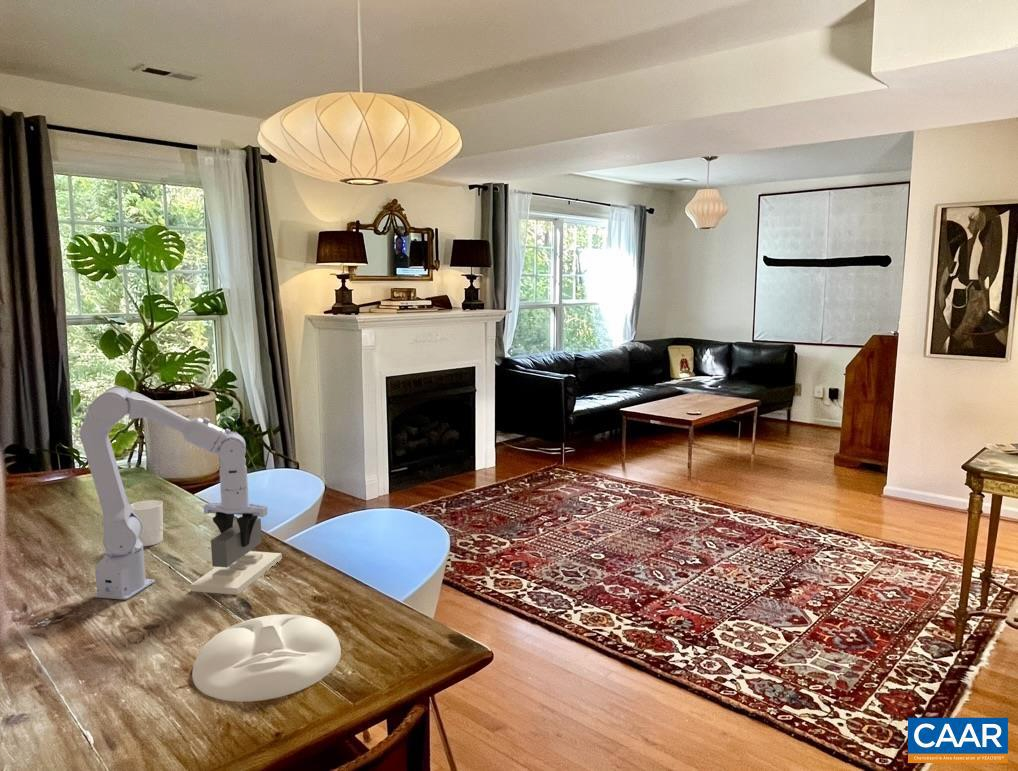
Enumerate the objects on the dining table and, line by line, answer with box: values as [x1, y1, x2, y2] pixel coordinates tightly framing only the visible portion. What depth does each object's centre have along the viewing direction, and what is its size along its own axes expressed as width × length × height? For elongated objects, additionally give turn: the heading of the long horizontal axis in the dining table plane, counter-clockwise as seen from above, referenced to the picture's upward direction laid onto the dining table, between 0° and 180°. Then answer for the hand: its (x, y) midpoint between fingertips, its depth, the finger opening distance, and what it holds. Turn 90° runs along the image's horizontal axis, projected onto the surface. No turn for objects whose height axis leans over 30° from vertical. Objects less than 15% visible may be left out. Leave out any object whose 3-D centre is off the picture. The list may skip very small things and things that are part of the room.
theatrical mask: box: [191, 613, 342, 703], centre depth 124 cm, size 25×8×25 cm
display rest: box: [190, 550, 283, 596], centre depth 161 cm, size 20×11×2 cm, turn 171°
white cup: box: [130, 499, 164, 547], centre depth 181 cm, size 8×8×10 cm
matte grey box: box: [210, 517, 263, 568], centre depth 160 cm, size 15×4×6 cm, turn 171°
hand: (237, 544), depth 160 cm, fingers closed on matte grey box, 3 cm apart
